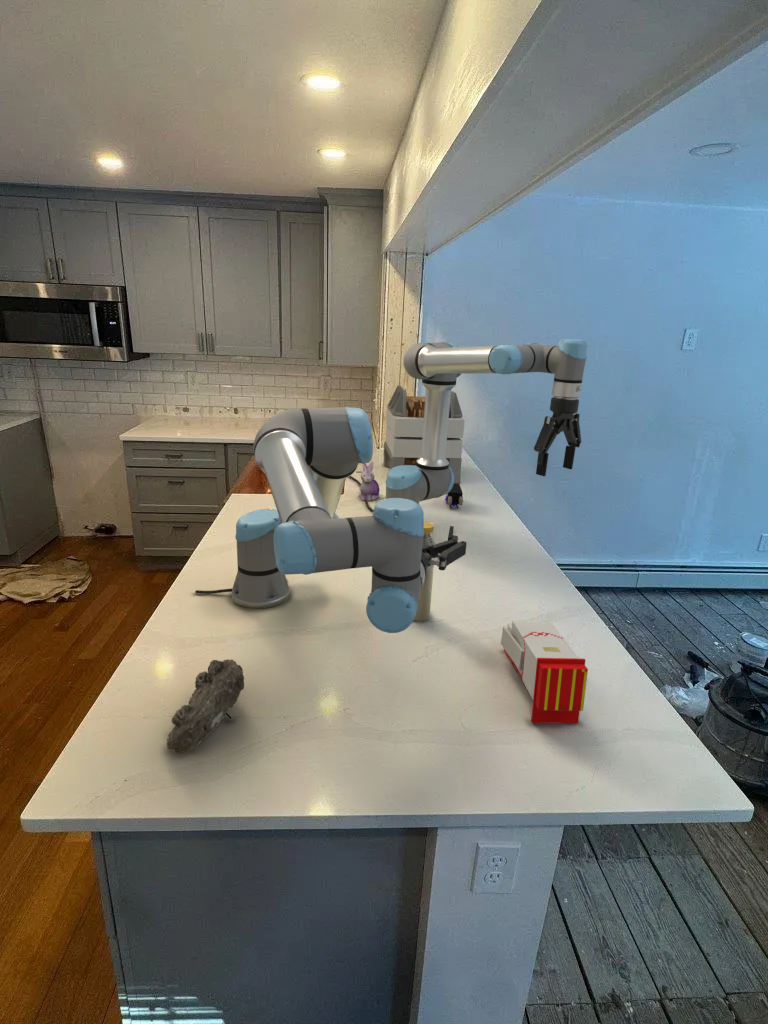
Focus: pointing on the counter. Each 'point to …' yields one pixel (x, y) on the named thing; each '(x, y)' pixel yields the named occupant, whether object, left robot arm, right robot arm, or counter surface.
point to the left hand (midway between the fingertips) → (418, 528)
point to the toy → (547, 670)
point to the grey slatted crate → (419, 431)
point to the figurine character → (454, 496)
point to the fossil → (206, 705)
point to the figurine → (368, 484)
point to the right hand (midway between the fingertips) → (554, 471)
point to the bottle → (425, 588)
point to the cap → (428, 528)
